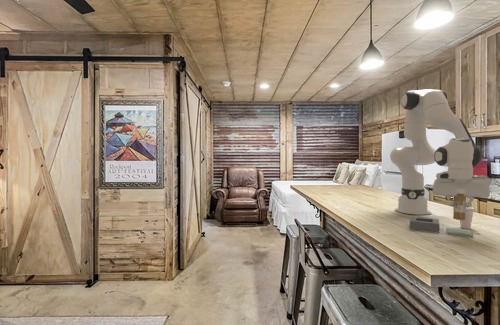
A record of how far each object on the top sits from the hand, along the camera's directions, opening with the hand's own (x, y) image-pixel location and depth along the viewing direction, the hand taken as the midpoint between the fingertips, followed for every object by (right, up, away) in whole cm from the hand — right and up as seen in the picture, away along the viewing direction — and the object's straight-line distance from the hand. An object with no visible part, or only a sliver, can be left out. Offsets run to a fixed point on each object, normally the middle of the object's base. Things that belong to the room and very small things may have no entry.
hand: (459, 206), depth 126 cm
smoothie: (+10, -12, +10) cm, 18 cm away
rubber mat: (0, -12, 0) cm, 12 cm away
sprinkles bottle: (0, -6, 0) cm, 6 cm away
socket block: (-10, -12, +9) cm, 18 cm away
